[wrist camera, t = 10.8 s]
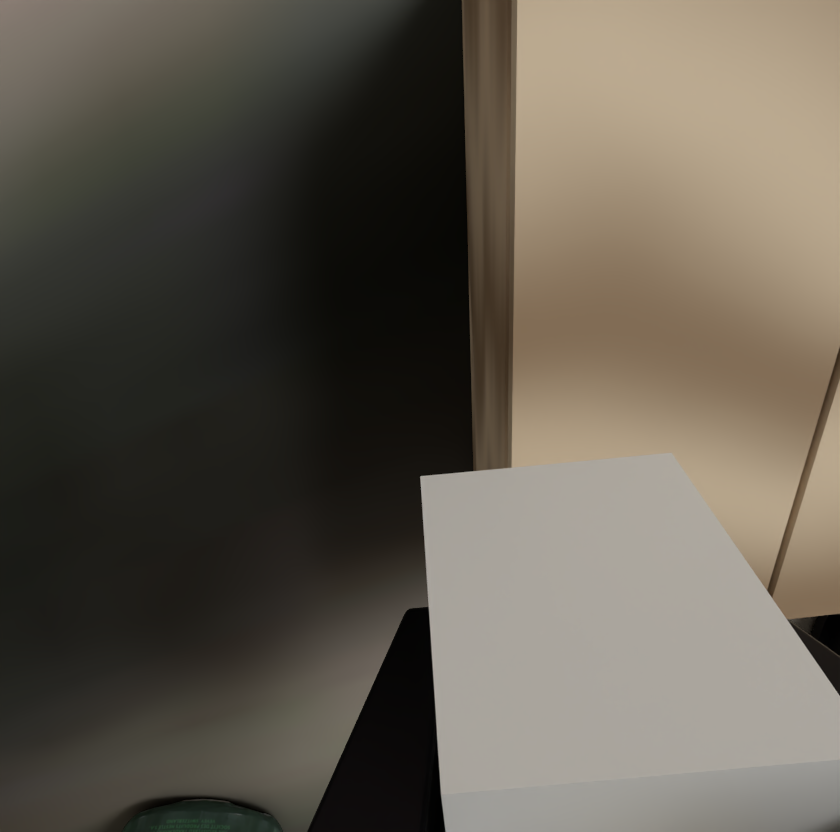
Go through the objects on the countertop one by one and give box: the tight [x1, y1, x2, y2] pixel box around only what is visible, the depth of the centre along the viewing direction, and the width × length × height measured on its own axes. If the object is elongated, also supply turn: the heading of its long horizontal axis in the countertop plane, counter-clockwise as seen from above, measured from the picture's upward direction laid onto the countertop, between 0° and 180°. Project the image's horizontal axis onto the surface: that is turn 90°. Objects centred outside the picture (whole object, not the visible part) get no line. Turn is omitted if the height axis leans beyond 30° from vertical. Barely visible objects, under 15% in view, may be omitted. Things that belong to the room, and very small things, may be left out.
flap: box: [508, 0, 840, 590], centre depth 12 cm, size 14×6×1 cm, turn 4°
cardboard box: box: [462, 0, 512, 471], centre depth 15 cm, size 14×12×6 cm
